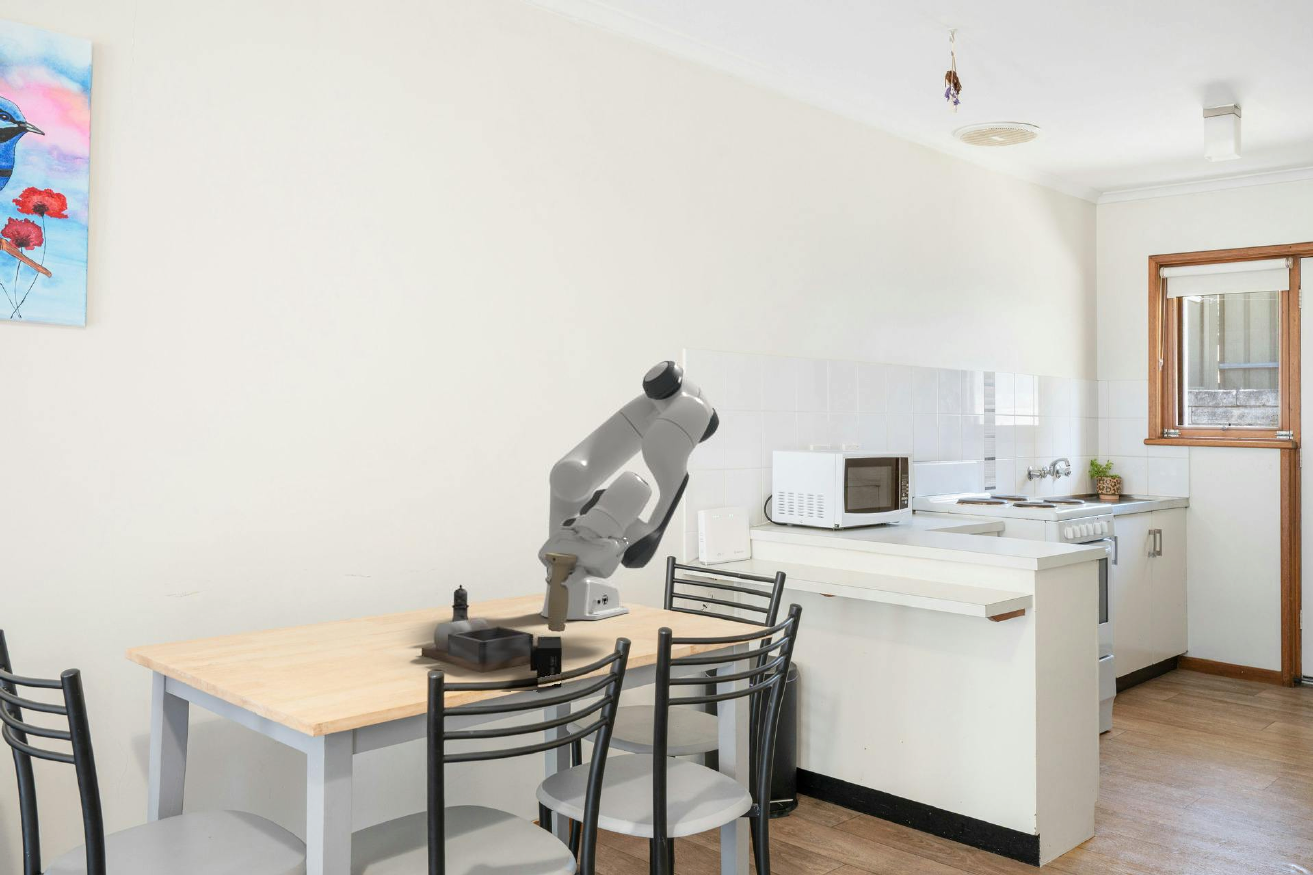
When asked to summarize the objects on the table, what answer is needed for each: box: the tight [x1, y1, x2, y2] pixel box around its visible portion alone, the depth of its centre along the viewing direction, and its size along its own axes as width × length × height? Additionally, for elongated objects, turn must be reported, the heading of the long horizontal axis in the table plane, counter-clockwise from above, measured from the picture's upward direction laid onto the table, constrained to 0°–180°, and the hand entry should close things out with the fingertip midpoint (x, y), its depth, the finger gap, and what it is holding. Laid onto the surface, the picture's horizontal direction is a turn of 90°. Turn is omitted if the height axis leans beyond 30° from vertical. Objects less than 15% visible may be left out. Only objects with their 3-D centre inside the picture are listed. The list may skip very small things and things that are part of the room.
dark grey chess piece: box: [450, 584, 470, 622], centre depth 217 cm, size 6×6×12 cm
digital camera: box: [529, 635, 563, 688], centre depth 183 cm, size 10×5×7 cm, turn 6°
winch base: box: [421, 617, 534, 673], centre depth 199 cm, size 12×20×7 cm, turn 46°
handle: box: [546, 553, 577, 633], centre depth 201 cm, size 5×6×15 cm
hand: (556, 585), depth 201 cm, fingers closed on handle, 3 cm apart
